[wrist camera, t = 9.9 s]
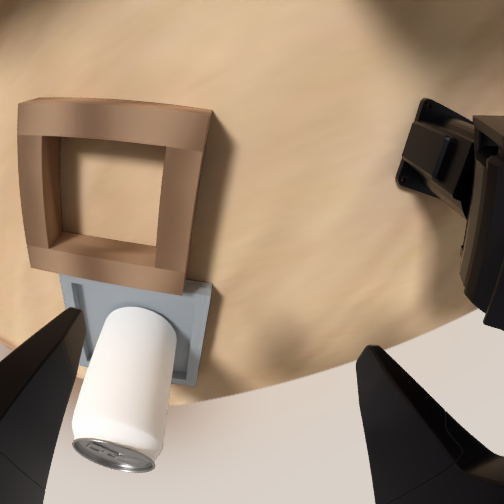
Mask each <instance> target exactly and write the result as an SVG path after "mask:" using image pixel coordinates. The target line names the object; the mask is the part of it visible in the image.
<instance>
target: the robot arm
mask: <svg viewBox="0 0 504 504" xmlns="http://www.w3.org/2000/svg"><path fill="white" fill-rule="evenodd" d="M427 103H428V104H429V107H428V108H426V104H427ZM403 176H405V178H404V180H402V181H401V178H402V177H403ZM396 181H397V183H398V184H400V185H401V186H404V187H407V188H410V189H413V190H416V191H419V192H422V193H425V194H428V195H431V196H434V197H437V198H440V199H442V200H443V201H444V202H446V203H447V204H448V205H449V206H450V207H452V208H453V209H454V210H455V211H456V212H458V213H459V214H460V215H461V216H462V217H463V218H465V219H466V220H467V224H466V231H465V237H464V243H463V245H462V246H461V251H460V255H461V258H462V259H461V265H460V276H461V279H462V282H463V284H464V286H465V290H464V293H465V295H466V296H467V297H468V298H469V300H470V301H471V302H472V303H473V304H474V305H475V306H476V307H478V308H479V309H480V310H482V311H483V312H484V313H486V315H485V317H484V320H483V323H484V324H485V325H488V326H491V327H494V328H498V329H501V330H503V331H504V116H485V115H473V122H472V121H470V120H468V119H467V118H465V117H463V116H461V115H460V114H458V113H456V112H454V111H452V110H450V109H449V108H447V107H445V106H443V105H441V104H439V103H437V102H435V101H433V100H431V99H428V98H423V99H422V100H421V102H420V105H419V108H418V111H417V114H416V118H415V121H414V123H412V126H411V129H410V133H409V136H408V139H407V142H406V145H405V148H404V151H403V154H402V160H401V163H400V166H399V169H398V171H397V174H396ZM85 336H86V324H85V319H84V313H83V311H82V309H79V308H74V307H69V308H68V309H66V310H65V311H64V312H62V313H61V314H60V315H58V316H57V317H56V318H54V319H53V320H52V321H50V322H49V323H48V324H47V325H45V326H44V327H43V328H41V329H40V330H39V331H38V332H36V333H35V334H34V335H32V336H31V337H30V338H29V339H27V340H26V341H25V342H24V343H22V344H21V345H20V346H19V347H17V348H16V349H15V350H14V351H12V352H11V353H10V354H9V355H8V356H7V357H5V358H4V359H3V360H2V361H1V362H0V504H43V500H44V495H45V489H46V484H47V479H48V475H49V470H50V466H51V462H52V458H53V454H54V449H55V446H56V442H57V438H58V434H59V431H60V427H61V424H62V420H63V417H64V414H65V410H66V407H67V404H68V401H69V397H70V394H71V391H72V388H73V385H74V382H75V379H76V375H77V371H78V366H79V361H80V357H81V353H82V349H83V344H84V340H85ZM356 372H357V384H358V394H359V405H360V411H361V416H362V421H363V427H364V432H365V438H366V443H367V450H368V455H369V462H370V468H371V474H372V482H373V489H374V496H375V503H376V504H504V457H503V456H499V455H497V454H494V453H493V452H491V451H490V450H489V449H487V448H486V447H485V446H484V445H483V444H482V443H480V442H479V441H478V440H477V439H476V438H474V437H473V436H472V435H471V434H470V433H469V432H467V431H466V430H465V429H464V428H463V427H462V426H461V425H460V424H459V423H457V422H456V421H455V420H454V419H453V418H452V417H451V416H450V415H449V414H448V413H447V412H446V411H445V410H444V409H443V408H442V407H441V406H440V405H439V404H438V403H437V402H436V401H435V400H434V399H433V398H432V397H431V396H430V395H429V394H428V393H427V392H426V391H425V390H424V389H423V388H422V387H421V386H420V385H419V384H418V383H417V382H416V381H415V380H414V379H413V378H412V377H411V376H410V375H409V374H408V373H407V372H406V371H405V370H404V369H403V368H402V367H400V365H399V364H397V362H395V360H393V359H392V358H391V357H390V356H389V355H388V354H387V353H386V352H385V351H384V350H383V349H382V348H381V347H380V346H378V345H368V346H366V347H365V349H364V350H363V352H362V354H361V355H360V357H359V358H358V360H357V362H356Z"/></svg>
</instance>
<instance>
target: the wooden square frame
mask: <svg viewBox="0 0 504 504" xmlns="http://www.w3.org/2000/svg"><path fill="white" fill-rule="evenodd" d="M211 115H212V110H207V109H200V108H193V107H186V106H179V105H171V104H162V103H152V102H142V101H130V100H117V99H98V98H36V99H33V100H29V101H26V102H22V103H19V104H18V125H17V144H18V172H19V186H20V197H21V207H22V215H23V223H24V230H25V237H26V243H27V249H28V254H29V260H30V265H31V268H35V269H40V270H44V271H49V272H54V273H58V274H63V275H68V276H73V277H78V278H83V279H88V280H93V281H99V282H104V283H109V284H115V285H120V286H126V287H132V288H137V289H143V290H149V291H155V292H161V293H168V294H174V295H180V296H182V295H183V290H184V284H185V279H186V273H187V265H188V257H189V250H190V242H191V235H192V228H193V221H194V214H195V207H196V201H197V194H198V188H199V182H200V176H201V170H202V164H203V158H204V152H205V147H206V141H207V136H208V130H209V125H210V120H211ZM60 136H61V137H77V138H91V139H103V140H113V141H124V142H133V143H142V144H150V145H158V146H166V153H165V161H164V169H163V177H162V186H161V196H160V206H159V217H158V230H157V243H156V247H155V246H148V245H142V244H136V243H130V242H123V241H117V240H111V239H105V238H99V237H92V236H86V235H80V234H74V233H68V232H63V227H62V214H61V196H60Z"/></svg>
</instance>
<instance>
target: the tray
mask: <svg viewBox="0 0 504 504" xmlns="http://www.w3.org/2000/svg"><path fill="white" fill-rule="evenodd" d="M59 276H60V282H61V288H62V293H63V299H64V304H65V308H66V309H68V308H69V307H74V308H79V309H82V311H83V313H84V319H85V324H86V336H85V340H84V344H83V349H82V353H81V357H80V361H79V364H80V366H84V367H88V366H89V364H90V361H91V358H92V355H93V352H94V349H95V347H96V344H97V341H98V339H99V336H100V333H101V331H102V328H103V326H104V323H105V321H106V319H107V317H108V315H109V314H110V313H111V312H113V311H114V310H116V309H119V308H123V307H127V306H138V307H144V308H147V309H150V310H153V311H155V312H157V313H158V314H160V315H161V316H163V317H164V318H165V319H166V320H167V321H168V322H169V323H170V324H171V326H172V327H173V329H174V331H175V333H176V337H177V342H176V350H175V358H174V365H173V372H172V380H171V384H178V385H185V386H192V387H196V381H197V375H198V368H199V362H200V356H201V350H202V344H203V338H204V332H205V327H206V321H207V315H208V310H209V304H210V298H211V288H212V283H205V282H199V281H192V280H185V284H184V290H183V295H182V296H180V295H174V294H168V293H161V292H155V291H149V290H143V289H137V288H132V287H126V286H120V285H115V284H109V283H104V282H99V281H93V280H88V279H83V278H78V277H73V276H68V275H63V274H59Z"/></svg>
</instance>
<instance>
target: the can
mask: <svg viewBox="0 0 504 504" xmlns="http://www.w3.org/2000/svg"><path fill="white" fill-rule="evenodd" d="M176 342H177V337H176V333H175V331H174V329H173V327H172V326H171V324H170V323H169V322H168V321H167V320H166V319H165V318H164V317H163V316H161V315H160V314H158V313H157V312H155V311H153V310H150V309H147V308H144V307H138V306H127V307H123V308H119V309H116V310H114V311H113V312H111V313H110V314H109V315H108V317H107V319H106V321H105V323H104V326H103V328H102V331H101V333H100V336H99V339H98V341H97V344H96V347H95V349H94V352H93V355H92V358H91V361H90V364H89V366H88V369H87V372H86V375H85V378H84V382H83V385H82V388H81V391H80V394H79V397H78V401H77V404H76V408H75V412H74V415H73V419H72V429H73V433H74V438H75V440H74V441H73V443H72V445H73V448H74V449H75V450H76V451H77V452H78V453H79V454H81V455H82V456H83V457H85V458H87V459H88V460H90V461H93V462H95V463H97V464H99V465H102V466H105V467H108V468H111V469H115V470H120V471H125V472H135V473H143V472H149V471H152V470H153V469H154V468H155V463H154V462H155V460H156V459H157V457H158V456H159V455H160V453H161V451H162V449H163V444H164V436H165V428H166V420H167V411H168V403H169V395H170V387H171V380H172V372H173V365H174V358H175V350H176Z"/></svg>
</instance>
